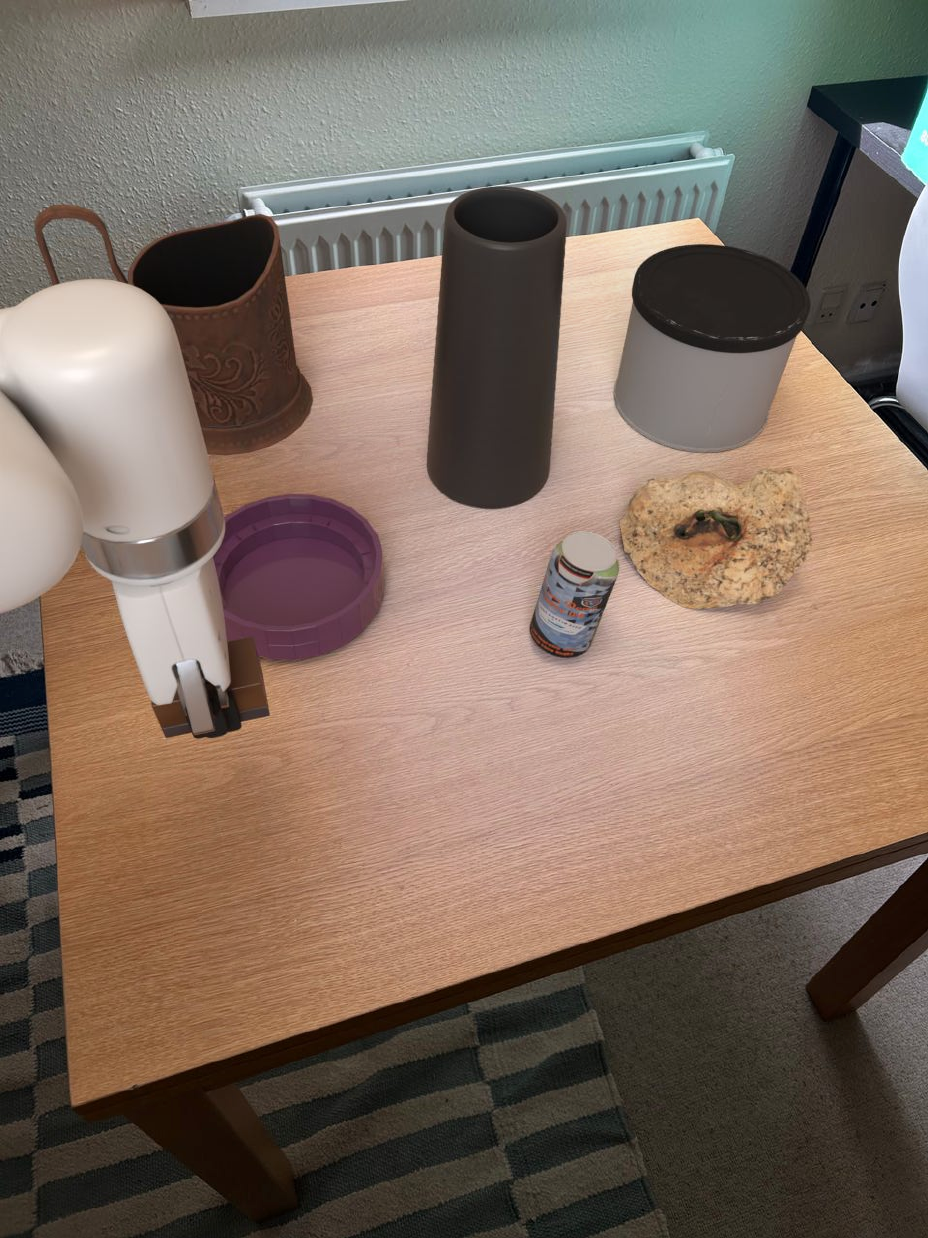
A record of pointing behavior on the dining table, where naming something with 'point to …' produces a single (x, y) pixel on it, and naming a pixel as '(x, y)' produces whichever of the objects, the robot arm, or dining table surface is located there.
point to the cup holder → (221, 323)
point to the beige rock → (718, 536)
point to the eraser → (243, 686)
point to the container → (707, 345)
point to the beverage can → (574, 594)
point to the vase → (496, 346)
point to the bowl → (298, 575)
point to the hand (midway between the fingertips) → (213, 700)
